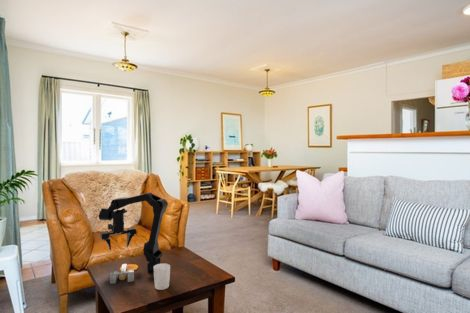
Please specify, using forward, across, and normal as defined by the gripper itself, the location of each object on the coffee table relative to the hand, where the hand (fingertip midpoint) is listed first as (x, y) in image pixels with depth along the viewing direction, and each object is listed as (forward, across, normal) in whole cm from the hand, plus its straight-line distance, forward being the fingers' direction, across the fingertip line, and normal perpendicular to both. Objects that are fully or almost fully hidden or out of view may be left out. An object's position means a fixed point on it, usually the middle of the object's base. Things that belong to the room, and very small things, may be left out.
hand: (118, 248), depth 169 cm
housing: (+11, +3, +17) cm, 21 cm away
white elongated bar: (+11, 0, +10) cm, 15 cm away
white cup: (+12, -11, +36) cm, 39 cm away
